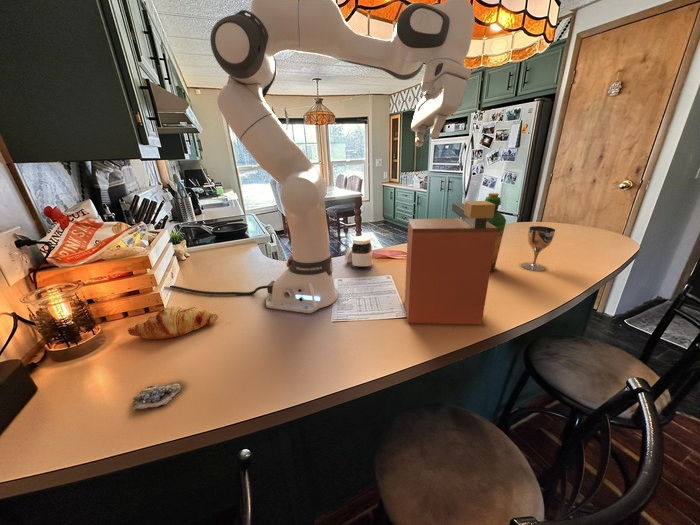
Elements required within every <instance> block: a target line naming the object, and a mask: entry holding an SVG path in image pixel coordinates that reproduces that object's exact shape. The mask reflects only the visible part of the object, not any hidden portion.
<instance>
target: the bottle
mask: <svg viewBox="0 0 700 525" xmlns="http://www.w3.org/2000/svg"><path fill="white" fill-rule="evenodd" d="M501 198H502V197H500V193H497V192H490V193H488V196H486V197H485V199H484V201H488V202H491V203H493V204H495V210H494V216H493V218H487V222H489V223H491V224H492V225H494V226H495V227H497V234H496V240H495V246H494V252H493V258H492V264H491V270H490V272H492V271H495V269H496V265H497V261H498V256H499V252H500V249H501V244H502V240H503V235H504V231H505V227H506V223H507V218H506V217H505V215H504V214H502V213H501V212H499V206H501V205H502V200H501Z"/></svg>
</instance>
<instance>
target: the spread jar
mask: <svg viewBox="0 0 700 525" xmlns="http://www.w3.org/2000/svg"><path fill="white" fill-rule="evenodd" d="M372 254H373V246H372V243H371V237H370V236H367V235H359V236H357V235H356V236H355V237H353V238H352V245H351V247H350V248H348V250H347V251H346V253H345V255H344V261H346V262H347V263H351V265H352V267H353V268H355V269H357V270H367V269H369V268H371V267H372V263H373V257H372V256H373V255H372Z"/></svg>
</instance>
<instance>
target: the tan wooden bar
mask: <svg viewBox="0 0 700 525" xmlns="http://www.w3.org/2000/svg"><path fill="white" fill-rule="evenodd" d="M494 210H495V204H493V203H491V202H488V201H485V200H465V201H464V203H463V202H462V201H460V202H459V201H455V202H454V201H453V202H452V205H451V211H452V212H453V213H454V214H455V215H456V216H458V217H459V218H462V219H463V220H465V221H466V222H467V223H468V224H470V225H471V226H472V227H473V228H475V229H485V228H486V222H487V218H493V216H494Z"/></svg>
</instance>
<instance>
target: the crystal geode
mask: <svg viewBox="0 0 700 525" xmlns="http://www.w3.org/2000/svg"><path fill="white" fill-rule="evenodd" d="M181 390H182V386H181V384H180V383H173V384H170V383H169V384H168V385H166V386H165V383H163V384H162V385H160V384H159V383H157V384H156V385H150V386H147V387H145V388H143V389H142V390H141V391H140V392H139V394H137V395H136V396H134V397H133V399H132V400H133V401H132V403H133V404H135V405H133V407H132V409H131V410H133V409H134V410H137V409H138V410H143V409H148V408H157V407H160V406H161V405H162V406H163V405H167V404H168V403H169V402H171V400H173V398H174V397H176V395H177V394H178V393H179V392H181Z"/></svg>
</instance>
